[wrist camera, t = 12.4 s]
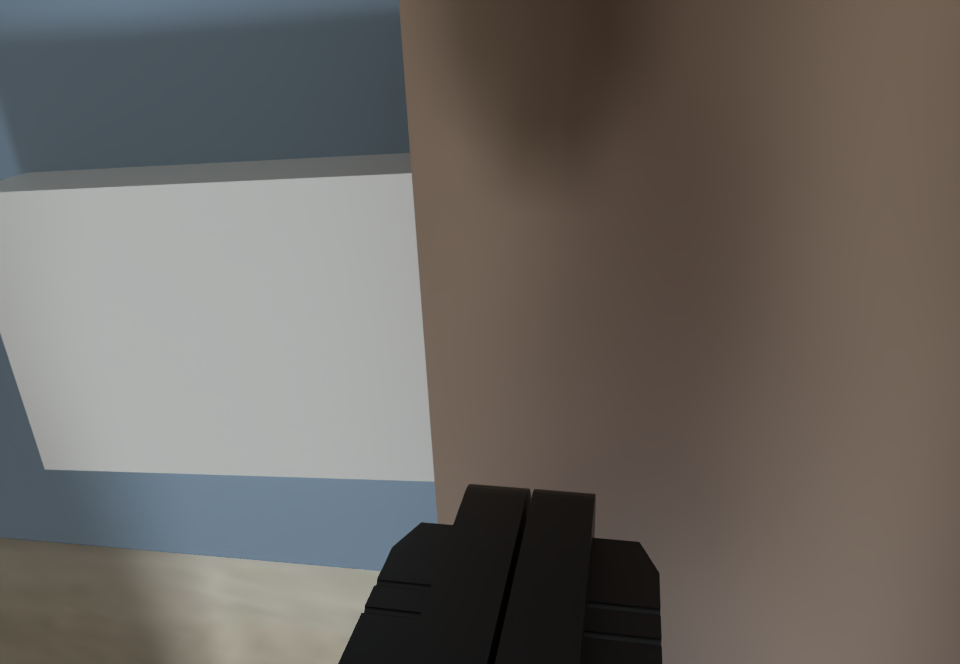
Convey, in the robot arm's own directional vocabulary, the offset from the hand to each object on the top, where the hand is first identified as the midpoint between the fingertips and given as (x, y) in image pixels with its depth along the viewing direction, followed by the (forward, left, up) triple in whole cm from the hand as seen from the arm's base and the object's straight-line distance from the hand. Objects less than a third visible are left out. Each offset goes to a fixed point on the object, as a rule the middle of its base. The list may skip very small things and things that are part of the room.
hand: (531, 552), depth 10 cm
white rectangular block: (-4, +5, -7) cm, 10 cm away
